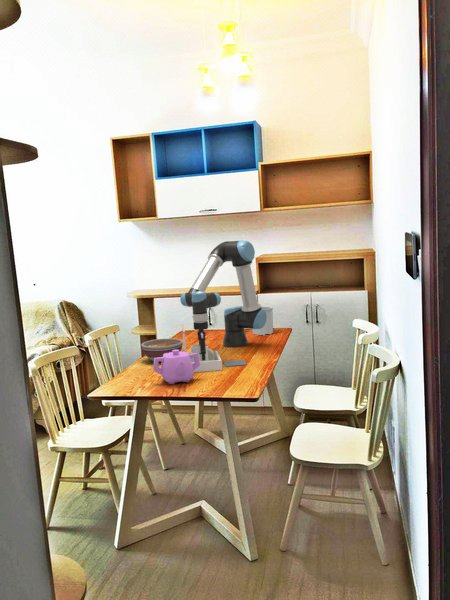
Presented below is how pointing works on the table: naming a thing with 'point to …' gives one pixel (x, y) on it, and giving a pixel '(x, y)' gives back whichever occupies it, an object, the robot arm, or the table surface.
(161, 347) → the bowl
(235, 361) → the slate mat
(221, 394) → the table surface
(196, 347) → the mug
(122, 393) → the table surface
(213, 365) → the cold frame
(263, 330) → the utensil holder
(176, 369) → the purple rounded pot
